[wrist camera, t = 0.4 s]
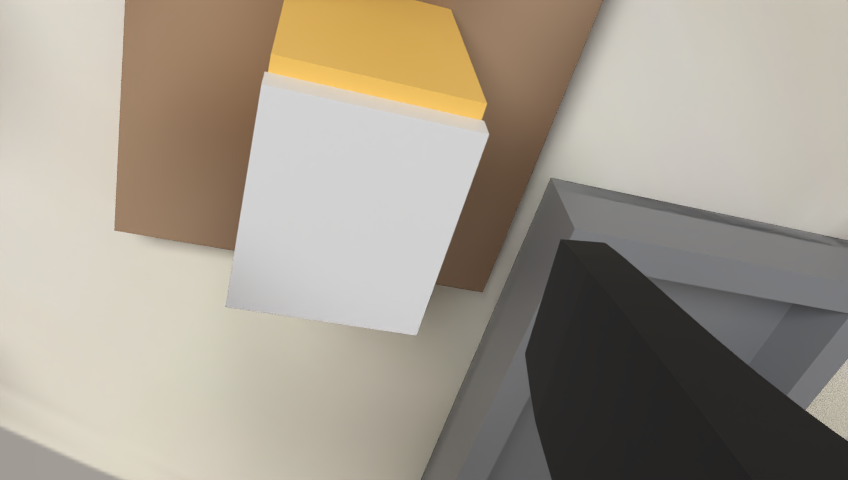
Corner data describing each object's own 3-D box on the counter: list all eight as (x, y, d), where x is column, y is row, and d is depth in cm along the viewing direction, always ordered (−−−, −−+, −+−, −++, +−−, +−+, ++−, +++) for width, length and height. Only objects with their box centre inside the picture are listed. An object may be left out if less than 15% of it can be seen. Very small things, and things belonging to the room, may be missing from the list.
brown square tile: (616, -78, 16) (631, -68, 15) (477, 270, 21) (482, 292, 20) (148, -221, 14) (135, -219, 13) (124, 209, 19) (114, 230, 18)
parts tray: (850, 240, 22) (902, 292, 20) (629, 541, 30) (649, 598, 28) (551, 177, 20) (574, 228, 18) (403, 521, 28) (407, 582, 26)
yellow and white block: (453, 10, 16) (495, 117, 11) (396, 198, 18) (412, 346, 14) (289, -33, 15) (264, 65, 10) (255, 171, 18) (223, 319, 13)
